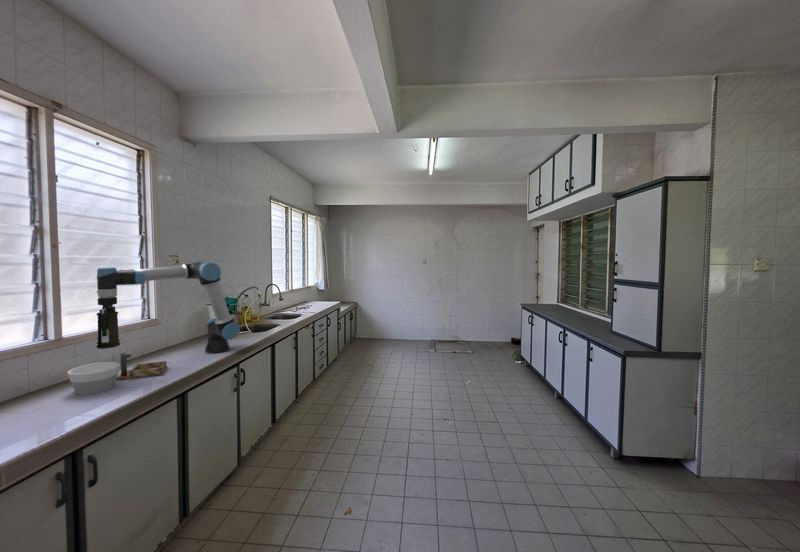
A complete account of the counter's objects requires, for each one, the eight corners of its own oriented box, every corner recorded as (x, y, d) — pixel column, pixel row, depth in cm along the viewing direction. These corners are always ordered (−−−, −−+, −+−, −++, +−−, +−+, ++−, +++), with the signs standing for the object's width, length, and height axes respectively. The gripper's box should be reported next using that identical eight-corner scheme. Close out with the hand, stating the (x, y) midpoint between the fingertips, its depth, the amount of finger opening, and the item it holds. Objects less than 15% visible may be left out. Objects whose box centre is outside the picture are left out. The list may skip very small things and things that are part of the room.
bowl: (128, 386, 163) (127, 365, 162) (76, 400, 146) (75, 377, 146) (112, 379, 172) (112, 359, 172) (62, 391, 156) (61, 369, 155)
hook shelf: (166, 367, 191) (166, 345, 191) (161, 375, 179) (161, 352, 178) (123, 372, 182) (123, 349, 182) (115, 380, 170) (114, 356, 169)
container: (124, 344, 172) (123, 311, 172) (107, 349, 164) (106, 314, 163) (109, 343, 174) (108, 310, 173) (91, 348, 165) (90, 313, 164)
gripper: (105, 295, 175) (106, 336, 176) (89, 299, 156) (90, 345, 157) (123, 294, 178) (124, 335, 179) (109, 298, 160) (110, 344, 161)
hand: (108, 340), depth 168 cm, fingers closed on container, 8 cm apart
